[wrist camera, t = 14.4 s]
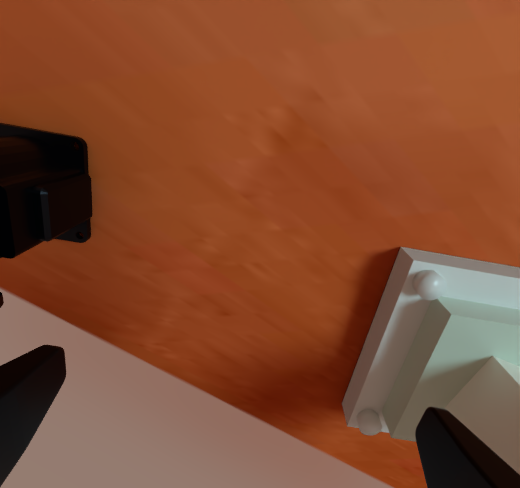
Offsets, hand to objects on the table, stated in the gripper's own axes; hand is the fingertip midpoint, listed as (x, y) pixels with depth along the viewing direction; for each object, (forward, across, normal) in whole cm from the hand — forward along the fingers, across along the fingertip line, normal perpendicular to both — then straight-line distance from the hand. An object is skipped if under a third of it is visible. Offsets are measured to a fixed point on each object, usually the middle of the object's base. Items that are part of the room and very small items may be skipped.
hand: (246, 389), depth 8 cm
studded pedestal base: (+13, -16, +7) cm, 22 cm away
